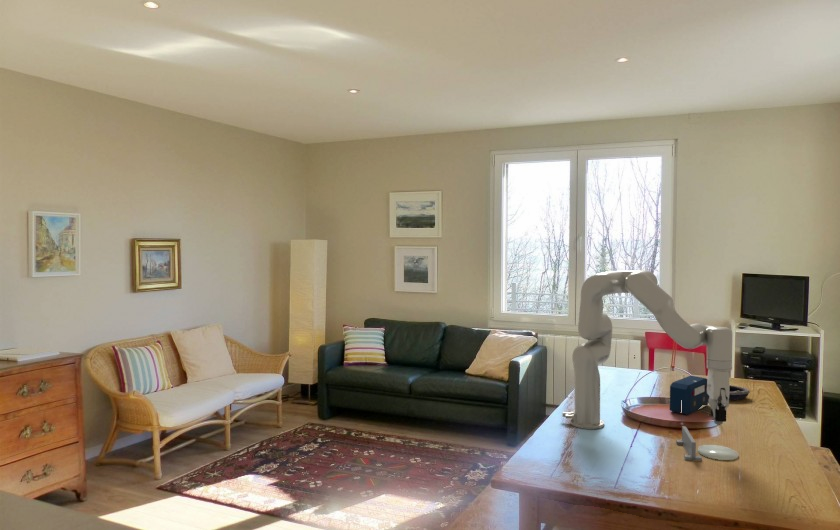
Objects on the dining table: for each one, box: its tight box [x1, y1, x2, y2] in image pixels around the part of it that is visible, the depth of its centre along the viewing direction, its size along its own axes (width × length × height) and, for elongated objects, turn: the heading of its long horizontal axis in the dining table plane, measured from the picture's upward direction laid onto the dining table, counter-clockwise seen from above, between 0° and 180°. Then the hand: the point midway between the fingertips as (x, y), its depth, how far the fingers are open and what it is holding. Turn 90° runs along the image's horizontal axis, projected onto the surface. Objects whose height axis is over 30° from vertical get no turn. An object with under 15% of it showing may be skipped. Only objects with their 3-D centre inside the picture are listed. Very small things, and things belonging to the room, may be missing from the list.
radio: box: [669, 375, 709, 416], centre depth 244 cm, size 21×9×20 cm, turn 131°
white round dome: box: [697, 444, 739, 461], centre depth 196 cm, size 12×12×1 cm
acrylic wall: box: [675, 425, 703, 462], centre depth 198 cm, size 5×16×6 cm, turn 166°
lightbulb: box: [708, 397, 730, 426], centre depth 196 cm, size 6×6×11 cm
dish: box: [708, 384, 751, 401], centre depth 263 cm, size 16×31×5 cm, turn 73°
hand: (718, 418), depth 196 cm, fingers closed on lightbulb, 4 cm apart
